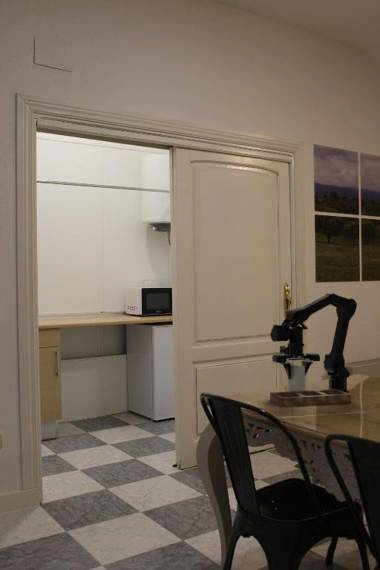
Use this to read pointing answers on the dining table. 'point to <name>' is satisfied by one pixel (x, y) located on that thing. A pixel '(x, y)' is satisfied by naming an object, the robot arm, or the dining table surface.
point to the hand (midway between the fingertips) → (296, 379)
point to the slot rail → (310, 397)
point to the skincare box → (297, 378)
